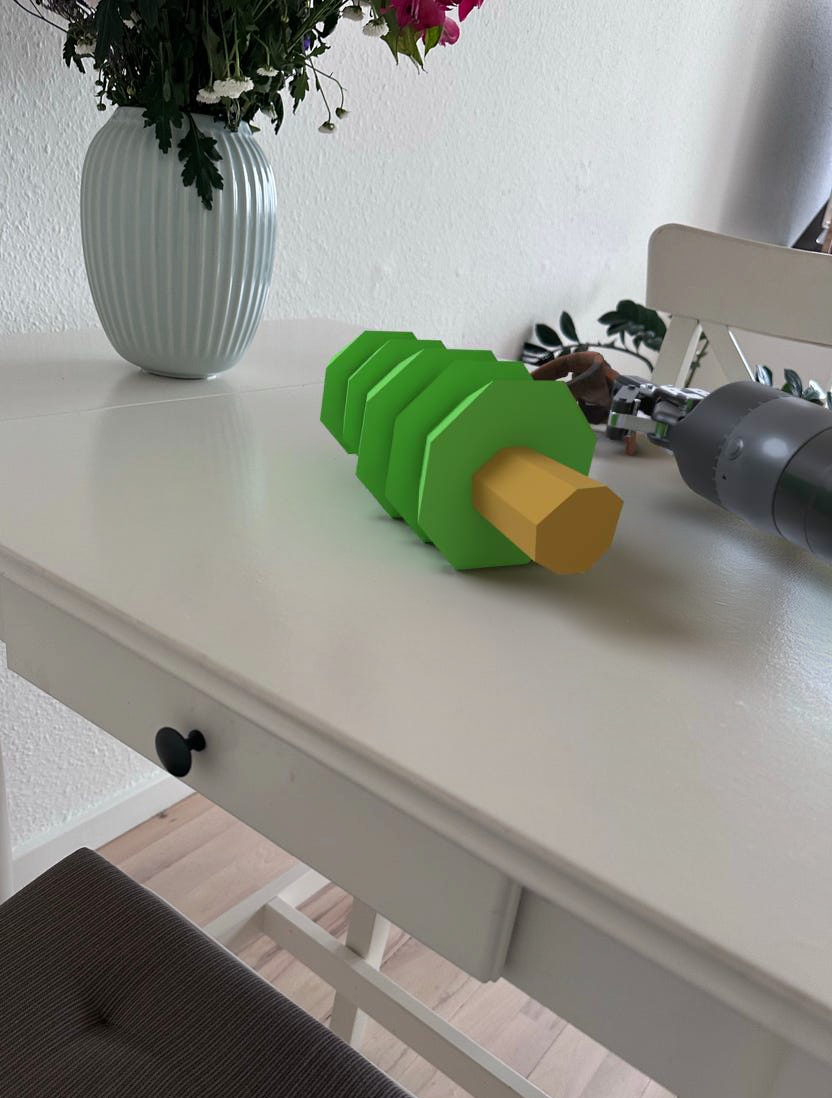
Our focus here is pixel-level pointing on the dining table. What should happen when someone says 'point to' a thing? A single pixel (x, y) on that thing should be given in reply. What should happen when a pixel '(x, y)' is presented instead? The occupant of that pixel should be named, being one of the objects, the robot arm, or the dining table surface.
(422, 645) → the dining table surface
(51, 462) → the dining table surface
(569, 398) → the decorative tree
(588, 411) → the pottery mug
